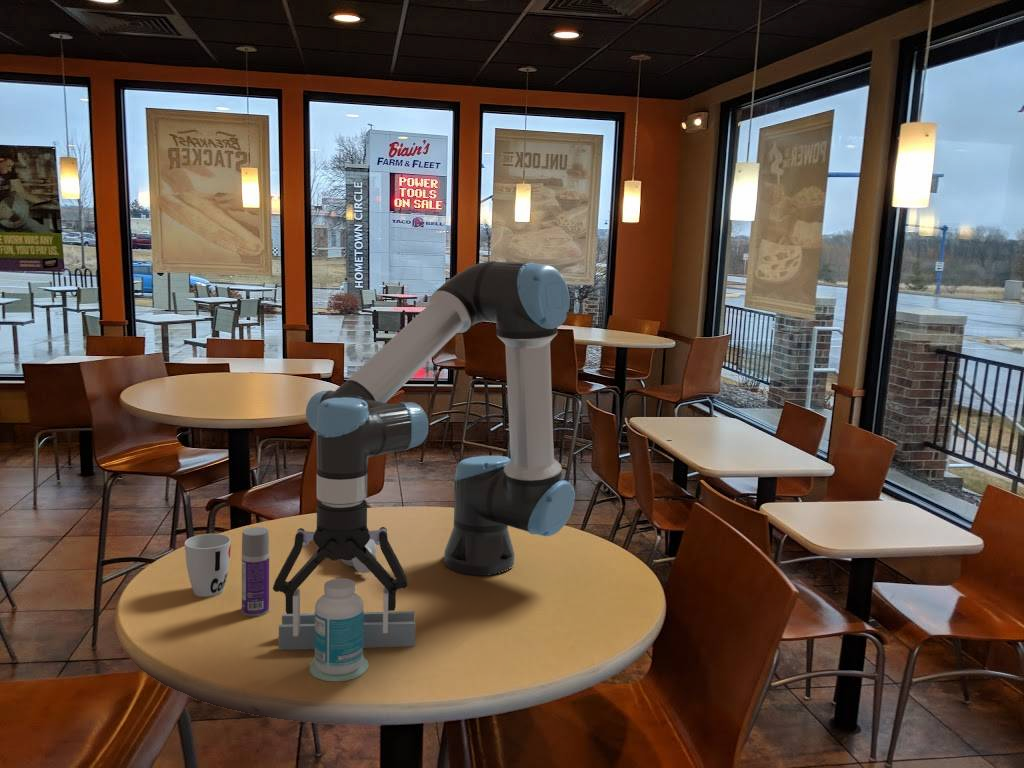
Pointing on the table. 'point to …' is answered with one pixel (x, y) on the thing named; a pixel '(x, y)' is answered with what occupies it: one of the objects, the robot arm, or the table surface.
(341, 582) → the pill bottle
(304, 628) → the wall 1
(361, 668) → the spot
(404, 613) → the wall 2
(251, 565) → the container
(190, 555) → the cup
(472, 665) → the table surface
